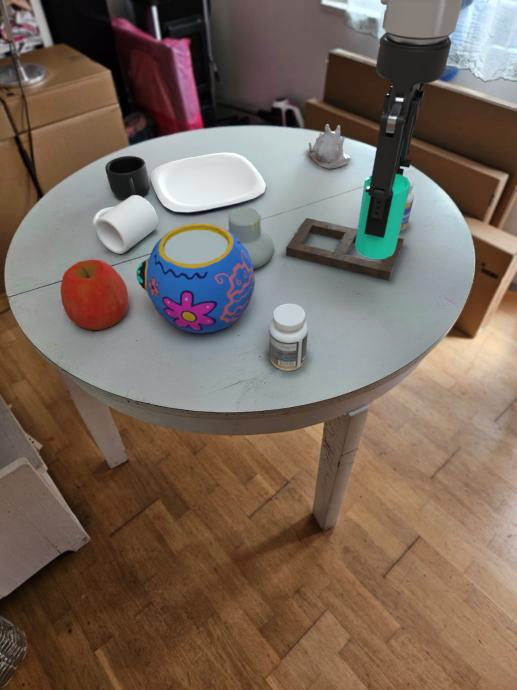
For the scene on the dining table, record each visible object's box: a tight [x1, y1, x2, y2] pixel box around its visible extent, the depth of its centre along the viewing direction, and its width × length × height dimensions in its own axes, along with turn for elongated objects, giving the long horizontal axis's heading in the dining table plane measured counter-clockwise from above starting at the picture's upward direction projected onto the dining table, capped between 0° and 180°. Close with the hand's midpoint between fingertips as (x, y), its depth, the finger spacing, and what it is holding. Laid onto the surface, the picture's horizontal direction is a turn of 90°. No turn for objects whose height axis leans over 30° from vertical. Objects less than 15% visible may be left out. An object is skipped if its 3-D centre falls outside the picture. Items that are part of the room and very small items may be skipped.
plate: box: [149, 152, 267, 214], centre depth 112 cm, size 25×25×2 cm
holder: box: [285, 217, 405, 281], centre depth 93 cm, size 21×11×2 cm, turn 66°
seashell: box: [307, 123, 351, 170], centre depth 117 cm, size 10×12×9 cm
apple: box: [60, 258, 129, 331], centre depth 79 cm, size 11×11×11 cm
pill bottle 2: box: [400, 178, 415, 232], centre depth 96 cm, size 5×5×10 cm
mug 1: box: [105, 155, 150, 200], centre depth 108 cm, size 12×9×7 cm
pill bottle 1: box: [268, 303, 309, 372], centre depth 71 cm, size 6×6×10 cm
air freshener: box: [227, 207, 275, 270], centre depth 89 cm, size 11×8×10 cm
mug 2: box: [92, 195, 159, 255], centre depth 96 cm, size 12×10×8 cm
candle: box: [354, 174, 411, 260], centre depth 66 cm, size 6×6×12 cm
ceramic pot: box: [136, 223, 256, 334], centre depth 77 cm, size 18×18×15 cm
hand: (380, 221), depth 67 cm, fingers closed on candle, 6 cm apart
